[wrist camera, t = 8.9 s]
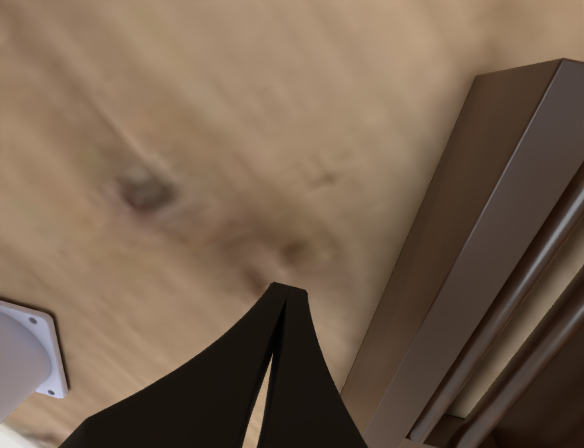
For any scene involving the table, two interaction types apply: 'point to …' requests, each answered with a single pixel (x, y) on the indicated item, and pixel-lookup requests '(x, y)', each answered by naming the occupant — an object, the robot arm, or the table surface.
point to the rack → (485, 278)
